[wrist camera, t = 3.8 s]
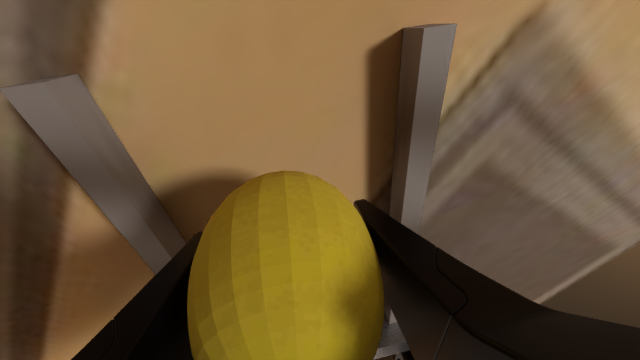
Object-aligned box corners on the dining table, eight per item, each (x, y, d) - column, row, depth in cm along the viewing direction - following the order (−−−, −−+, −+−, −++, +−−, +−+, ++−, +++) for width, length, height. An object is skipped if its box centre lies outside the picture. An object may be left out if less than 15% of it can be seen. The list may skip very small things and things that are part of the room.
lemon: (218, 233, 11) (147, 511, 5) (221, 125, 9) (62, 428, 2) (326, 237, 13) (383, 456, 6) (356, 146, 10) (513, 364, 4)
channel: (393, 314, 22) (409, 350, 20) (240, 352, 21) (236, 395, 18) (432, 24, 9) (490, 23, 7) (40, 79, 8) (-62, 102, 6)
